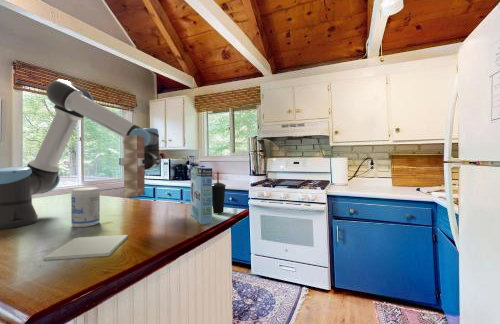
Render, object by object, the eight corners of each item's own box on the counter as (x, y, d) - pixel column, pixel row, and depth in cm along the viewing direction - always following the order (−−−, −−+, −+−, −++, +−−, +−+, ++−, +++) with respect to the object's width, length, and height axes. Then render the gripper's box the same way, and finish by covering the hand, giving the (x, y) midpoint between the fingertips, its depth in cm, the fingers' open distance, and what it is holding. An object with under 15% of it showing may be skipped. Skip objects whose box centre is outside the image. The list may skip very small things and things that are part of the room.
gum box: (190, 214, 114) (189, 166, 114) (201, 213, 117) (200, 166, 116) (200, 225, 97) (200, 168, 96) (213, 223, 99) (212, 167, 99)
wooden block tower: (124, 196, 87) (123, 135, 87) (131, 193, 95) (130, 137, 94) (138, 196, 88) (138, 135, 87) (144, 193, 96) (144, 137, 95)
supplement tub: (65, 227, 94) (64, 190, 94) (83, 221, 104) (82, 187, 103) (89, 227, 94) (88, 190, 94) (105, 221, 103) (104, 187, 103)
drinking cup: (207, 214, 116) (206, 172, 115) (215, 210, 123) (215, 171, 122) (221, 215, 113) (221, 172, 112) (228, 211, 120) (228, 171, 120)
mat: (43, 260, 64) (43, 257, 64) (76, 239, 80) (76, 237, 80) (108, 255, 67) (108, 252, 67) (127, 236, 83) (127, 234, 83)
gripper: (167, 169, 110) (156, 172, 88) (125, 169, 107) (102, 172, 84) (167, 152, 110) (156, 151, 87) (125, 152, 107) (102, 151, 84)
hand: (130, 161), depth 86 cm, fingers closed on wooden block tower, 5 cm apart
